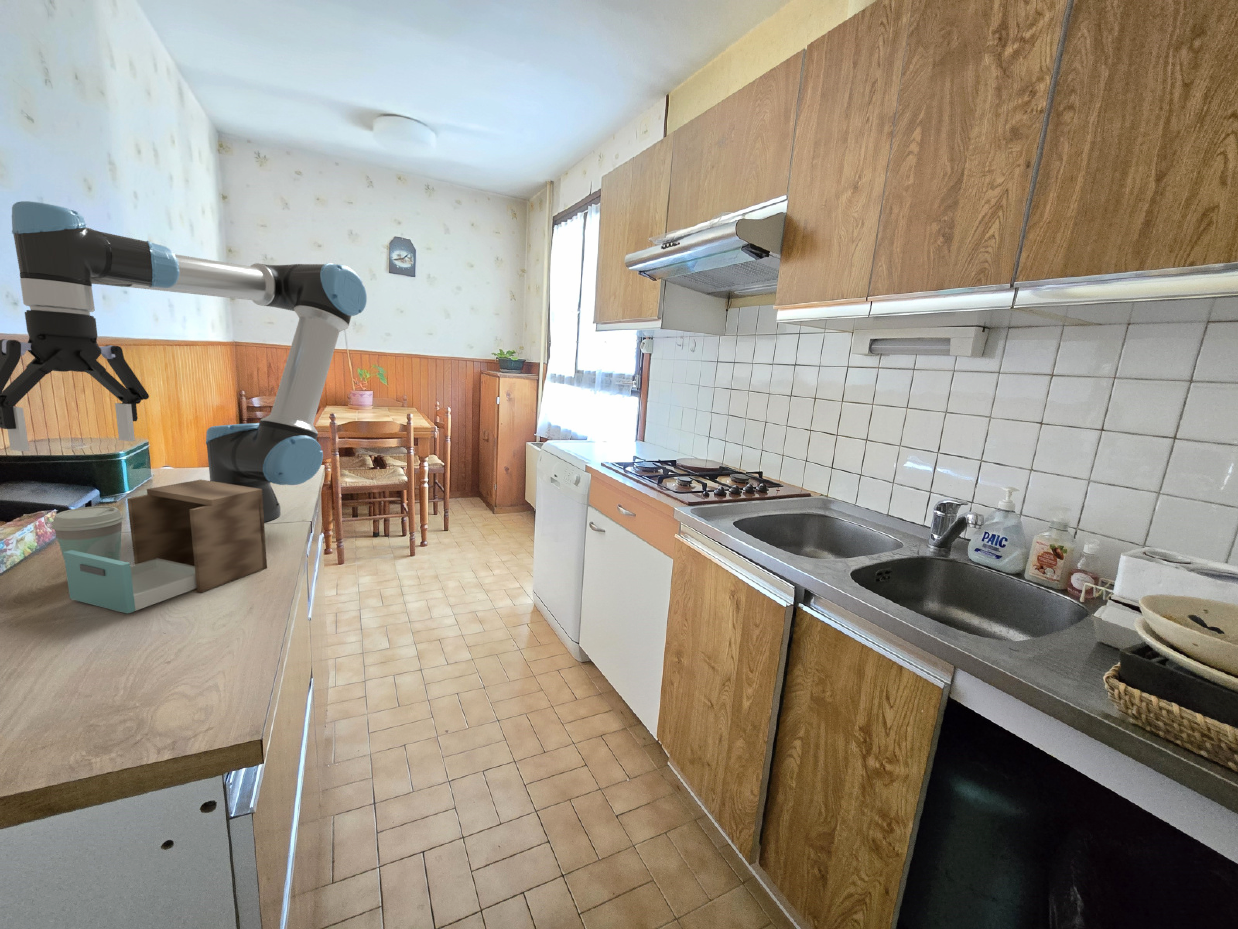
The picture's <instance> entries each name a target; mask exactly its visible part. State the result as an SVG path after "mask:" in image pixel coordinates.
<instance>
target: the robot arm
mask: <svg viewBox="0 0 1238 929" xmlns="http://www.w3.org/2000/svg"><path fill="white" fill-rule="evenodd" d="M85 221H86V220H85V217H84V216H83V215H82V214H81V213H80V212H79V211H76V210H74V209H73V210H72V209H69V208H67V207H64V206H59V205H54V204H50V203H43V202H36V201H30V200H29V201H26V200H25V201H17V202H15V203H13V205H12V206H11V226H12V230H11V234H13V240H14V245H15V246H14V247H15V251H16V259H17V263H18V269H19V278H20V279H19V281H20V287H21V294H22V295H21V296H22V301H23V302H22V303H23V305H24V306H27V307H29V309H27V310H25V311H24V318H25V324H26V332H27V334H28V336H29V337H28V340H27V342H24V341H19V340H18V339H17V340H16V339H5V338H1V339H0V429H4V430H7V436H8V441H9V449H10V450H12V451H16V452H17V451H18V452H29V451H30V446H29V441H28V440H29V439H28V432H27V426H26V419H25V413H24V407H19V406H16V405H17V404H18V403H19V402H20V401H21V400H22V399H23V398H24V397H25V396H26V395H27V394H28V393H29V392H30V391H31V390H32V389H33V388H34V387H35V386H36V385H37V384H38V383H39V382H40V381H41V380H42V379H43V378H44V377H45V376H46V375H48V374H51V372H59V373H61V372H76V373H87V375H90V376H91V377H92V378H93V379H95V380H96V381H97V382H98V383H99V384H100V385H102V387H104V388H105V389H106V390H108V392H110V394H112V395H113V396H114V397H115V398H116V399H118V400H119V401H120V402H115V403H114V406H115V407H114V408H115V415H116V416H115V417H116V424H117V435H118V440H119V441H126V442H135V441H136V439H135V429H134V422H138V419H139V418H138V410H137V405H138V404H140V403H141V401H143V400H148V399H149V398H150V395H149V393H148V392H147V390H146V388H145V387H144V386H143V384H142V383H141V381H140V380H139V379H138V377H137V375H136V374H135V373H134V371H133V369H132V368H131V367H130V365H129V364H128V362H127V361H126V360H125V355H124V352H123V349H122V347H121V346H119V345H110V344H105V345H104V346H99V344H98V342H97V340H98V329H97V321H96V320H97V319H96V318H95V317H94V316H93V315H91V313H93V312H95V301H94V294H93V289H92V288H93V285H100V286H101V285H103V286H110V287H121V288H125V287H126V288H133V289H143V290H150V291H151V290H153V291H163V292H171V293H181V294H191V295H200V296H209V297H218V298H228V299H237V300H247V301H252V302H253V303H254V304H256V305H258V306H262V307H269V308H277V309H282V310H285V311H286V310H288V311H290V312H291V311H293V312H294V313H295V314H296V315H297V317H298V323H297V325H296V328H295V333H294V335H293V339H292V342H291V346H290V348H289V352H288V355H287V359H286V361H285V366H284V367H283V368H284V369H283V372H282V375H281V378H280V382H279V385H278V389H277V391H276V395H275V399H274V403H273V405H272V409H271V412H270V414H269V415H268V416H265V417H263V418H260V420H259V422H257V423H256V422H255V423H254V422H253V423H237V424H225V425H224V424H223V425H213V426H210V427H208V428H207V429H206V435H205V436H206V437H205V439H206V440H205V445H206V450H207V460H208V472H209V473H208V474H209V481H214V482H220V483H226V484H233V485H239V486H246V487H252V488H258V489H262V497H263V513H264V523H266V522H270V521H273V520H275V519H277V518H279V517H281V514H282V513H281V505H280V502H279V501H278V498H277V496H276V493H275V492H274V489H273V487H272V485H271V484H274V485H279V486H298V485H301V484H304V483H306V482H308V481H309V480H311V479H312V478H313V477H314V476H316V474H317V473H318V472H319V470H320V468H321V466H322V463H323V459H324V453H323V452H324V450H322V446H321V444H320V443H319V442H318V441H317V439H318V436H319V432H318V430H317V429H316V427H315V425H314V424H315V419H316V416H317V412H318V409H319V406H320V401H321V398H322V394H323V392H324V388H325V384H326V382H327V377H328V373H329V370H330V367H331V362H332V359H333V355H334V352H335V349H336V345H337V342H338V338H339V335H340V332H342V331H345V330H347V329H349V326H350V322H351V318H352V317H354V316H357V315H359V314H361V313H362V312H363V311H364V310H365V308H366V306H367V299H368V297H367V290H366V288H365V286H364V284H363V281H362V279H361V277H360V276H359V274H357V272H355V270H353V269H352V268H350V267H349V266H347V265H344V264H338V263H337V264H335V263H333V262H332V263H331V262H327V263H323V264H322V263H321V264H320V263H296V264H295V263H294V264H274V265H273V264H263V263H259V262H258V263H257V262H255V263H253V264H251V265H242V264H237V263H229V262H224V261H218V260H211V259H207V258H200V257H193V256H188V255H182V254H177V253H176V254H175V253H174V251H172V250H171V249H170V248H169V247H167V246H165V245H161V244H157V243H154V242H151V241H149V240H146V241H145V240H142V239H141V240H140V239H136V238H131V237H128V236H123V235H122V236H121V235H117V234H111V233H108V232H102V231H98V230H95V229H94V228H93V229H92V228H90V227H88V226H87V223H86V222H85ZM26 352H29V354H31V355H32V356H33V357H34V358H33V359H32V360H31V361H30V362H29V363H28V364H26V368H25V369H24V370H23V371H22V372H20V374H19V375H18V376H17V377H15V378H14V379H13V381H11V383H10V384H9V385H8V386H6V385H7V383H8V382H9V380H10V378H11V376H12V374H13V372H14V370H16V367H17V366H18V364H19V362H20V359H21V357H22V356H24V355H25V353H26ZM100 356H102V358H104V359H105V360H106V361H107V363H108V365H109V366H110V367H111V370H113V371H114V373H115V374H116V376H117V377H118V379H119V380H120V381H121V383H120V382H119V381H118V380H117V379H116V378H115V377H114V376H113V375H112V374H110V373H109V372H108V371H107V369H106V367H105V366H103V364H102V363H100V362H99V361H98V359H99V357H100Z"/></svg>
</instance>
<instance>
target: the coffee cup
mask: <svg viewBox="0 0 1238 929" xmlns="http://www.w3.org/2000/svg"><path fill="white" fill-rule="evenodd" d="M124 521H125V518H124V514H122V513H121V511H120V509H119V508H118V507H116V506H106V505H105V506H104V505H103V506H101V505H100V506H99V505H98V506H87V507H85V506H84V507H78V508H72V509H68V510H63V511H60V512H58V513H56V514H55V515H54V518H53V521H52V522H51V529H52V530H54V533H55V535H56V538H57V541H58V545H59V547H60V551H61V555H62V558H63V560H64V553H63V552H66V551H70V550H74V551H78V552H83V553H87V554H92V555H96V556H101V557H105V558H110V559H114V560H119V561H121V557H122V556H121V554H122V549H121V548H122V526H123V525H122V524H123V523H122V522H124ZM64 562H65V560H64Z"/></svg>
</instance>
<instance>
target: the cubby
mask: <svg viewBox="0 0 1238 929" xmlns="http://www.w3.org/2000/svg"><path fill="white" fill-rule="evenodd" d="M126 501H127V511H128V518H129V528H130V536H131V544H132V552H133V561H134V565H135V564H139V563H142V562H146V561H149V560H152V559H156V558H159V559H164V560H168V561H173V562H178V563H182V564H187V565H192V566H195V575H196V585H197V588H196V589H193V590H190V591H189V592H195V593H197V594H202V593H205V592H208V591H210V590H213V589H215V588H218V587H221V586H223V585H226V584H228V583H231V582H234V581H237V580H239V579H242V578H245V577H246V576H250V575H252V574H256V573H258V572H260V571H262V570H266V569H268V562H267V561H268V560H267V545H266V532H265V529H266V528H265V522H264V513H263V497H262V489H258V488H252V487H246V486H239V485H233V484H226V483H220V482H214V481H210V480H207V479H206V480H205V479H196V480H191V481H183V482H179V483H175V484H174V483H173V484H169V485H162V486H156V487H150V488H146V494H144V495H143V494H142V495H137V496H134V497H133V496H132V497H127V498H126Z"/></svg>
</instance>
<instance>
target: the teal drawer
mask: <svg viewBox="0 0 1238 929" xmlns="http://www.w3.org/2000/svg"><path fill="white" fill-rule="evenodd" d="M63 553H64V558H63V560H65V561H64V566H65V567H64V568H65V573H66V579H67V586H68V587H67V588H68V592H69V593H68V595H69V599H70V600H73V601H77V602H81V603H85V604H90V605H91V606H92V605H93V606H97V607H101V608H106V609H108V610H111V611H116V612H121V613H123V614H130V613H133V612H135V611H139V610H141V609H144V608H146V607H149V606H152V605H154V604H158V603H160V602H163V601H165V600H168V599H172V598H173V597H176V596H178V595H181V594H185V593H187V592H191V591H190V590H193V589H196V588H197V585H196V575H195V566H192V565H187V564H182V563H178V562H173V561H168V560H164V559H159V558H156V559H152V560H149V561H146V562H142V563H139V564H135V563H134V564H132V565H131V562H128V561H122V560H120V561H119V560H114V559H110V558H105V557H101V556H96V555H92V554H87V553H83V552H78V551H74V550H70V551H66V552H63Z"/></svg>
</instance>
